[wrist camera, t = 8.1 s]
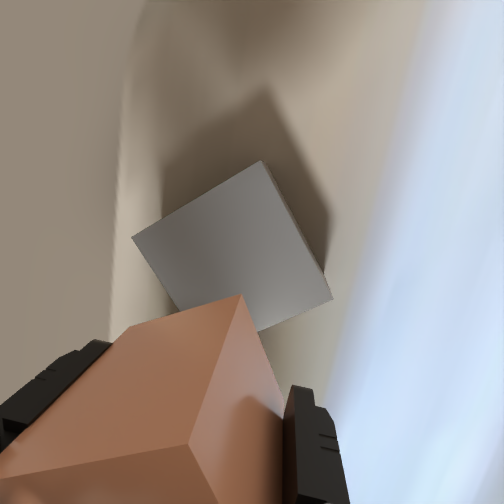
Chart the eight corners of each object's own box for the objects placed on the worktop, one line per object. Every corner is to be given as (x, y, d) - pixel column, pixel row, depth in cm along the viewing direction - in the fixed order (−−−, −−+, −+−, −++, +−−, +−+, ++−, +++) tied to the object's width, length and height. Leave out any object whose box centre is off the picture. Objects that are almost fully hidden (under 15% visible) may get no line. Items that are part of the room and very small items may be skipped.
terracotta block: (178, 421, 12) (86, 635, 7) (129, 326, 11) (-32, 485, 6) (283, 399, 11) (283, 627, 6) (241, 293, 10) (187, 443, 5)
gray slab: (323, 273, 27) (333, 299, 22) (222, 319, 30) (207, 353, 24) (266, 163, 25) (260, 160, 19) (162, 224, 28) (131, 237, 22)
